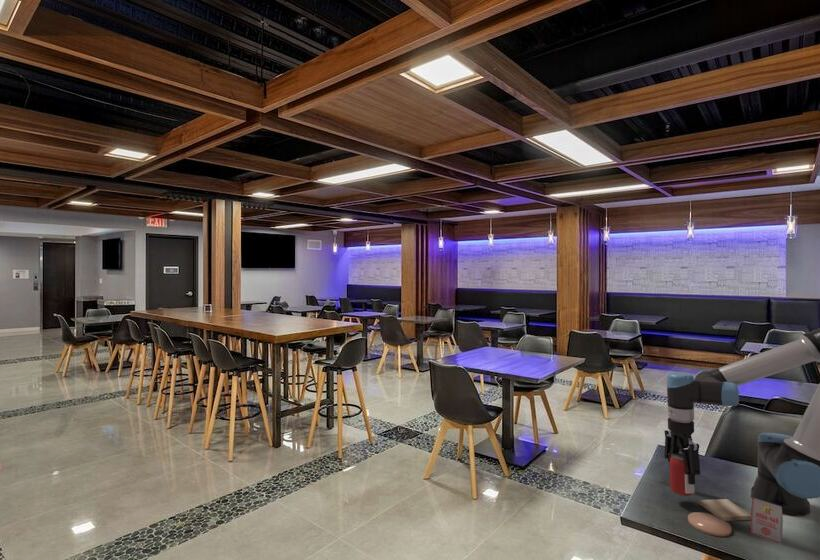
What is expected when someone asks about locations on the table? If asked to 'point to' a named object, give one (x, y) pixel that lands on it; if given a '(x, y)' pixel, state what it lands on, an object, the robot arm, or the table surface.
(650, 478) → the table surface
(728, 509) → the square tan board
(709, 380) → the robot arm
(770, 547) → the table surface
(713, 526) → the coaster
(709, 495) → the table surface
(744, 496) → the table surface
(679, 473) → the beer can
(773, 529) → the printed cardboard carton
